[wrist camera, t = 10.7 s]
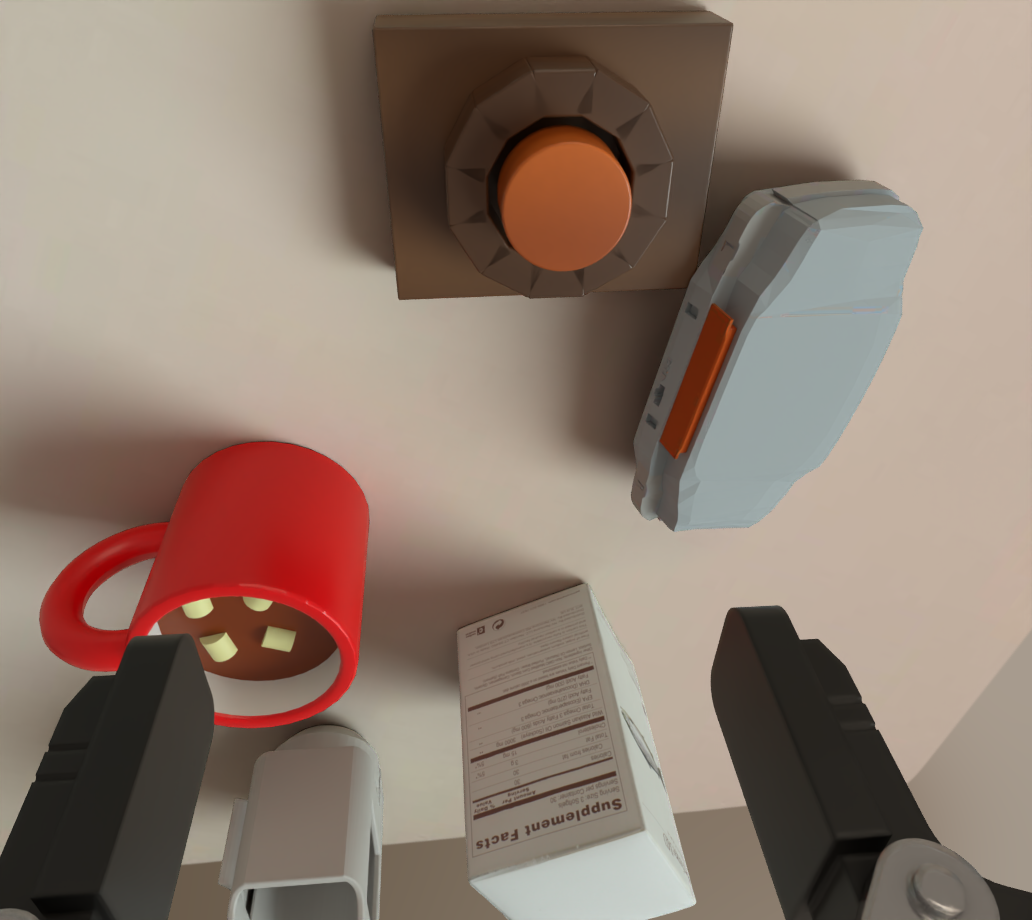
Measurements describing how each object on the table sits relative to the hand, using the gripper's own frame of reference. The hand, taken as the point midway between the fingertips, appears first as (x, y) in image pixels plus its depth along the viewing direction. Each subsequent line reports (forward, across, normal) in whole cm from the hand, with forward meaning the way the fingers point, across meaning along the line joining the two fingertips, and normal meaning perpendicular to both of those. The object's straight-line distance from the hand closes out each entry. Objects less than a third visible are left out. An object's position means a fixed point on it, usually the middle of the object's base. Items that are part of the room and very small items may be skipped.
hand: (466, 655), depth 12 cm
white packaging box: (+19, -5, +23) cm, 30 cm away
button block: (+19, -3, -2) cm, 19 cm away
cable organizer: (+19, +8, +31) cm, 37 cm away
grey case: (+18, -16, +6) cm, 24 cm away
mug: (+19, +10, +13) cm, 25 cm away
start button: (+15, -3, -2) cm, 16 cm away
